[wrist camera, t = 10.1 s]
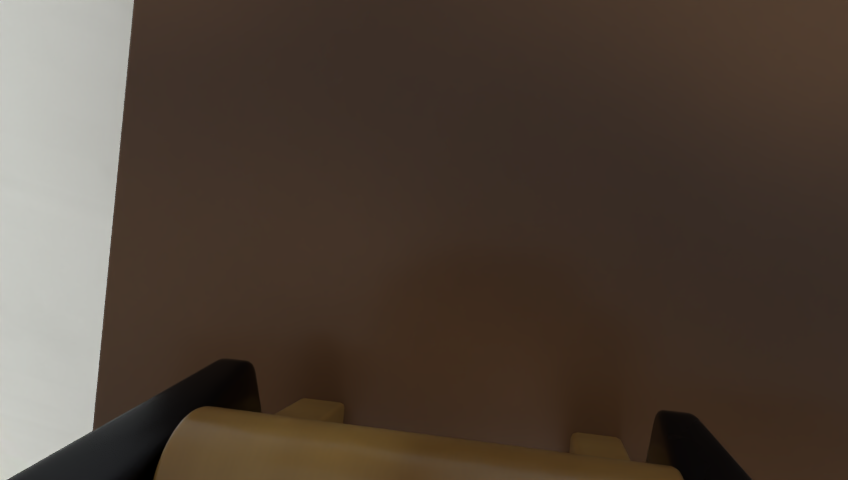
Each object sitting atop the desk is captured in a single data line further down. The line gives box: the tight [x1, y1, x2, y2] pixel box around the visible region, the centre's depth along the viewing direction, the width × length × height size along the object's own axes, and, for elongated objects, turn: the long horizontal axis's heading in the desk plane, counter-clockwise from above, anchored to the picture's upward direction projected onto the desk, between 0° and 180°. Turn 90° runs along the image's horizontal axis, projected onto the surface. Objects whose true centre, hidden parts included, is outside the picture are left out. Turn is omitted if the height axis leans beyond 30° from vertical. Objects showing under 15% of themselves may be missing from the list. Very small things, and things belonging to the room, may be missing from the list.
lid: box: [93, 0, 848, 480], centre depth 8 cm, size 12×12×5 cm
